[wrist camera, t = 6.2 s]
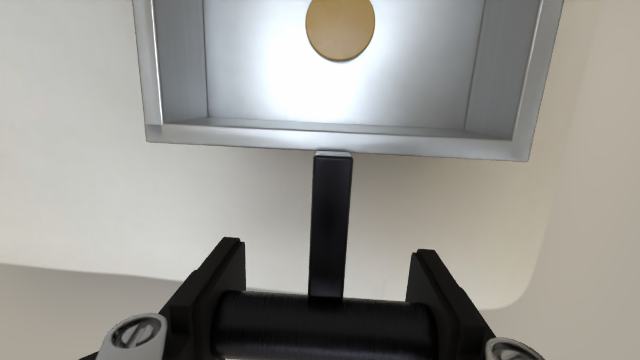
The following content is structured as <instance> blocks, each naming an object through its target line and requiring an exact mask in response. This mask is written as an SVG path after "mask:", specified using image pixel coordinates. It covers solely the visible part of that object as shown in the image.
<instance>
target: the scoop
mask: <svg viewBox="0 0 640 360" xmlns="http://www.w3.org/2000/svg"><path fill="white" fill-rule="evenodd" d="M311 1H312V0H132V4H133V14H134V23H135V33H136V43H137V53H138V63H139V73H140V82H141V92H142V102H143V112H144V122H145V134H146V141H147V142H150V143H169V144H188V145H207V146H227V147H246V148H265V149H284V150H304V151H316V152H315V155H314V158H313V180H312V205H311V230H310V255H309V280H308V295H299V294H284V293H269V292H254V291H239V290H226V291H225V292H224V293H223V294H222V295H221V297H220V299H219V301H218V304H217V306H216V309H215V313H214V317H213V321H212V327H211V335H210V348H211V353H212V355H213V356H214V357H215V358H225V359H240V360H438V335H437V328H436V323H435V319H434V316H433V313H432V311H431V309H430V307H429V306H428V305H427V304H425V303H418V302H403V301H388V300H373V299H359V298H344V297H343V291H344V277H345V264H346V250H347V237H348V224H349V210H350V197H351V183H352V170H353V158H352V155H351V153H362V154H381V155H400V156H419V157H439V158H458V159H477V160H496V161H516V162H527V161H528V160H529V155H530V151H531V146H532V141H533V136H534V132H535V127H536V123H537V118H538V114H539V110H540V105H541V101H542V96H543V92H544V87H545V83H546V78H547V74H548V69H549V65H550V61H551V56H552V52H553V47H554V43H555V38H556V34H557V29H558V25H559V21H560V16H561V12H562V7H563V3H564V0H370V2H371V4H372V6H373V9H374V12H375V30H374V34H373V37H372V39H371V41H370V43H369V45H368V46H367V48H366V49H365V50H364V51H363V52H362V53H361V54H360V55H359V56H357V57H356V58H354V59H352V60H349V61H346V62H333V61H329V60H326V59H324V58H323V57H321V56H320V55H319V54H318V53H317V52H316V51H315V50H314V49H313V48H312V46H311V44H310V42H309V40H308V37H307V34H306V29H305V18H306V13H307V10H308V7H309V5H310V3H311Z"/></svg>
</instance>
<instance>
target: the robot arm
mask: <svg viewBox="0 0 640 360" xmlns="http://www.w3.org/2000/svg"><path fill="white" fill-rule="evenodd" d="M226 290H239V291H246V270H245V243H244V242H240V239H239V238H232V237H224V238H222V240H221V241H220V242H219V243H218V245H217V246H216V247H215V248H214V250H213V251H212V252H211V253H210V255H209V256H208V257H207V258H206V259H205V261H204V262H203V263H202V264H201V266H200V267H199V268H198V269H197V270H194V271H193V272H192V273H191V274H190V275H189V277H188V278H187V279H186V280H185V281H184V283H183V284H182V285H181V286H180V287H179V289H178V290H177V291H176V292H175V293H174V295H173V296H172V297H171V298H170V300H169V301H168V302H167V303H166V304H165V305H164V307H163V308H162V309H161V310H160V312H159V313H158V314H156V313H143V314H139V315H135V316H132V317H129V318H127V319H125V320H123V321H121V322H120V323H118V324H116V325H115V326H114V327H113V328H112V329H111V330H110V331H109V332H108V334H107V335H106V337H105V338H104V341H103V343H102V346H101V348H100V350H99V351H98V352H95V353H93V354H91V355H88V356H86V357H83V358H81V359H79V360H225V358H215V357H214V356H213V355H212V353H211V348H210V335H211V327H212V321H213V317H214V313H215V309H216V306H217V304H218V301H219V299H220V297H221V295H222V294H223V293H224V292H225V291H226ZM405 302H418V303H425V304H427V305H428V306H429V307H430V309H431V311H432V313H433V316H434V319H435V323H436V328H437V335H438V360H545V359H544V358H543V357H542V356H541V355H540V354H539V353H537V352H536V351H535V350H533V349H532V348H530V347H528V346H527V345H525V344H523V343H521V342H518V341H516V340H513V339H509V338H502V337H500V338H499V337H496V336H495V335H494V333H493V332H492V330H491V329H490V327H489V326H488V324H487V323H486V322H485V320H484V319H483V317H482V316H481V314H480V313H479V311H478V310H477V308H476V307H475V305H474V304H473V303H472V301H471V300H470V298H469V297H468V295H467V294H466V292H465V291H464V290H463V289H462V288H461V287H459V286H458V284H457V283H456V281H455V280H454V278H453V277H452V275H451V274H450V272H449V271H448V269H447V268H446V266H445V265H444V263H443V262H442V260H441V259H440V257H439V256H438V254H437V253H436V251H435V250H428V249H418V250H417V253H414V252H413V253H412V256H411V262H410V270H409V277H408V285H407V292H406V299H405Z"/></svg>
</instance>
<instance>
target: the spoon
mask: <svg viewBox="0 0 640 360" xmlns="http://www.w3.org/2000/svg"><path fill="white" fill-rule="evenodd" d="M305 29H306V34H307V37H308V40H309V42H310V44H311V46H312V48H313V49H314V50H315V51H316V52H317V53H318V54H319V55H320V56H321V57H323V58H324V59H326V60H329V61H333V62H346V61H349V60H352V59H354V58H356V57H357V56H359V55H360V54H361V53H362V52H363V51H364V50H365V49H366V48H367V46H368V45H369V43H370V41H371V39H372V37H373V34H374V30H375V12H374V9H373V6H372V4H371V2H370V0H312V1H311V3H310V5H309V7H308V10H307V13H306V18H305Z"/></svg>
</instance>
